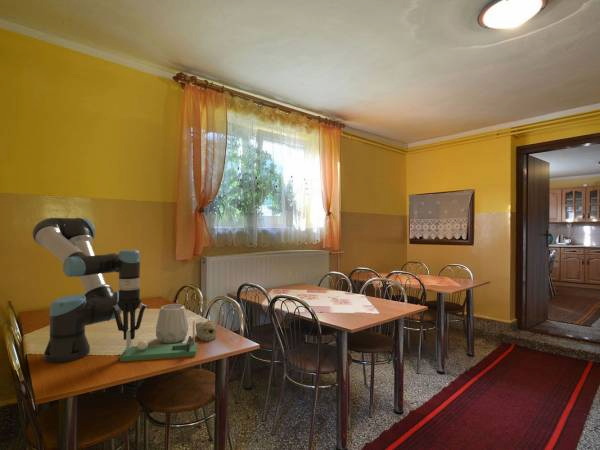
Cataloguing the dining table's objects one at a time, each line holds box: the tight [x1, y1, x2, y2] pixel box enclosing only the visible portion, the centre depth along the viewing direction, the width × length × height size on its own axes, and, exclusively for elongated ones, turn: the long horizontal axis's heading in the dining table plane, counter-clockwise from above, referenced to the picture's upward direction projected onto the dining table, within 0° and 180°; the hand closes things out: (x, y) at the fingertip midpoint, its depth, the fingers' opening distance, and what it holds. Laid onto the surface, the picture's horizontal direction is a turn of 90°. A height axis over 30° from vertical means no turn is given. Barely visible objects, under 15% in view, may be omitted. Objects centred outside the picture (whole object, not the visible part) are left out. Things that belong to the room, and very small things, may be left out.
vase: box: [155, 303, 189, 344], centre depth 155 cm, size 14×14×15 cm
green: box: [119, 320, 198, 362], centre depth 138 cm, size 28×10×12 cm, turn 103°
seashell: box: [195, 321, 217, 342], centre depth 159 cm, size 10×10×10 cm
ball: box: [136, 339, 149, 351], centre depth 137 cm, size 4×4×4 cm
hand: (129, 347), depth 135 cm, fingers closed
